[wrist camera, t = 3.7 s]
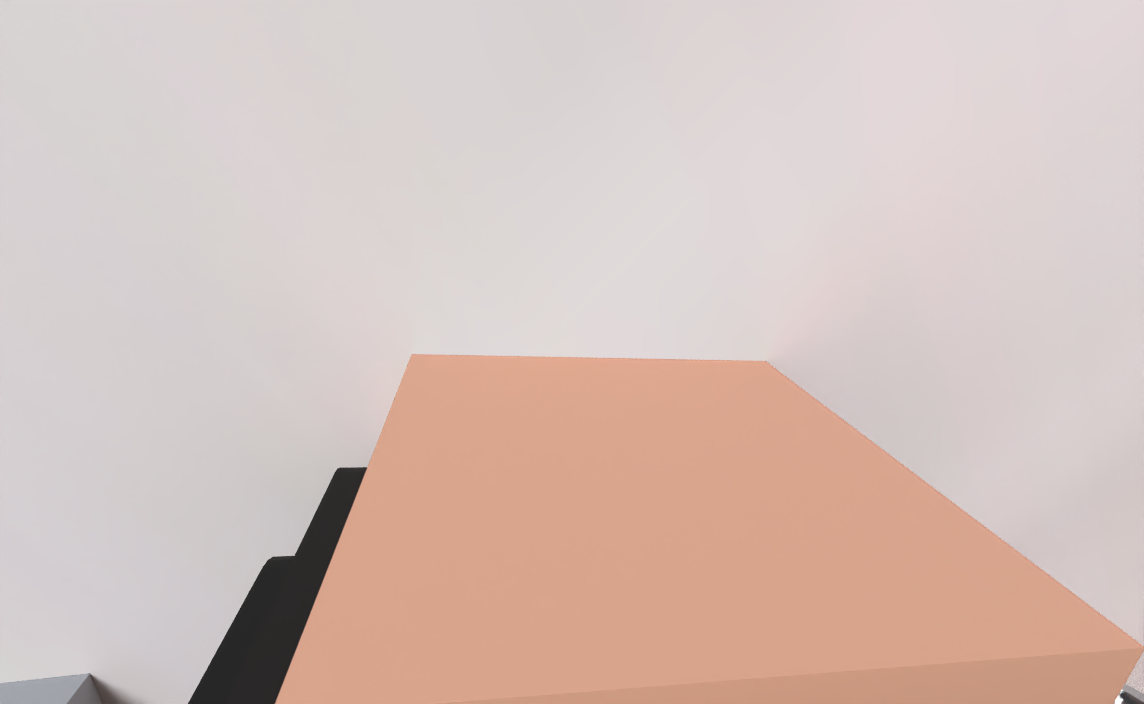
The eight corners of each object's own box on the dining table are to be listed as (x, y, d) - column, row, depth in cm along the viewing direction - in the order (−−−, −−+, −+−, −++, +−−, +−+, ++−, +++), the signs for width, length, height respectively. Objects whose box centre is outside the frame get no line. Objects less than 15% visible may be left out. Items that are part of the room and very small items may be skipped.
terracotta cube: (763, 359, 10) (1144, 647, 4) (710, 622, 12) (913, 1057, 6) (412, 352, 9) (270, 715, 3) (420, 639, 11) (342, 1177, 5)
